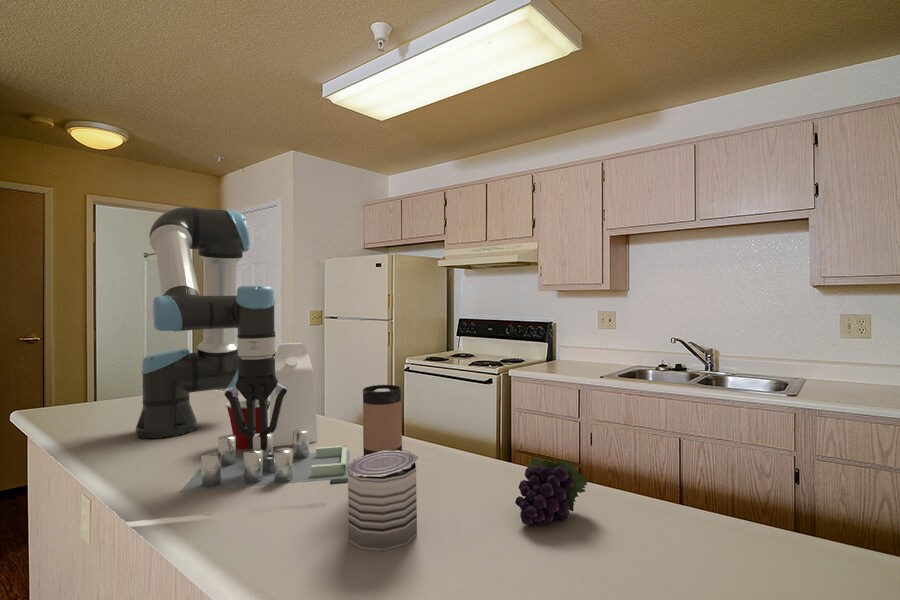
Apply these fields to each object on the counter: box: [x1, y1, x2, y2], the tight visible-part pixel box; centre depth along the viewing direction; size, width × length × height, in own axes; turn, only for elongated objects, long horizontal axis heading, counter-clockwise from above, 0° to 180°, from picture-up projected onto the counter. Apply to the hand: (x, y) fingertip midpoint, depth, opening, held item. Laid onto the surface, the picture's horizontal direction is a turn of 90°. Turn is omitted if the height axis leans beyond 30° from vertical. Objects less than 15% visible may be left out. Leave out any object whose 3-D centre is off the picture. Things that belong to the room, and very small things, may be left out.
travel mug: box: [362, 384, 403, 456], centre depth 95 cm, size 8×8×20 cm
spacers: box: [200, 429, 310, 487], centre depth 104 cm, size 18×20×6 cm
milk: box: [268, 342, 319, 447], centre depth 127 cm, size 12×12×26 cm
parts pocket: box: [311, 445, 348, 477], centre depth 107 cm, size 13×7×2 cm, turn 11°
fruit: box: [514, 456, 589, 526], centre depth 82 cm, size 10×10×15 cm
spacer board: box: [179, 449, 350, 493], centre depth 104 cm, size 18×32×1 cm, turn 101°
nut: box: [263, 451, 274, 473], centre depth 104 cm, size 5×4×3 cm
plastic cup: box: [224, 399, 270, 451], centre depth 121 cm, size 11×11×12 cm
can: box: [345, 449, 420, 552], centre depth 77 cm, size 11×11×12 cm
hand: (258, 465), depth 103 cm, fingers closed
